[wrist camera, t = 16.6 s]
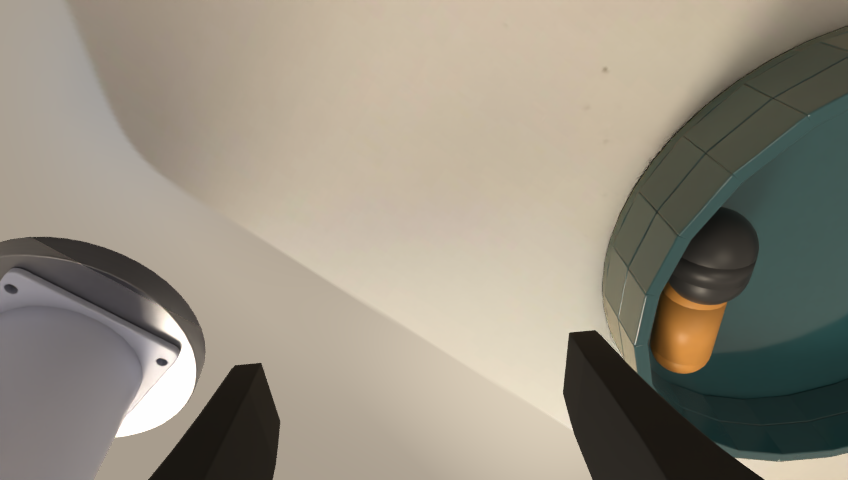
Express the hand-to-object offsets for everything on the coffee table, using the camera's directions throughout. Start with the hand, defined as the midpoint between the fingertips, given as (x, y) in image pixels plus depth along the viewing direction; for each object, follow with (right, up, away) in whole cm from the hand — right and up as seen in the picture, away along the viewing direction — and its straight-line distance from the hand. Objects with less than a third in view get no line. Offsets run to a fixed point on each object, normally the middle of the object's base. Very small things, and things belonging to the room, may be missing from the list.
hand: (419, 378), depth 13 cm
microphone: (+12, +1, +12) cm, 17 cm away
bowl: (+18, +3, +12) cm, 22 cm away
